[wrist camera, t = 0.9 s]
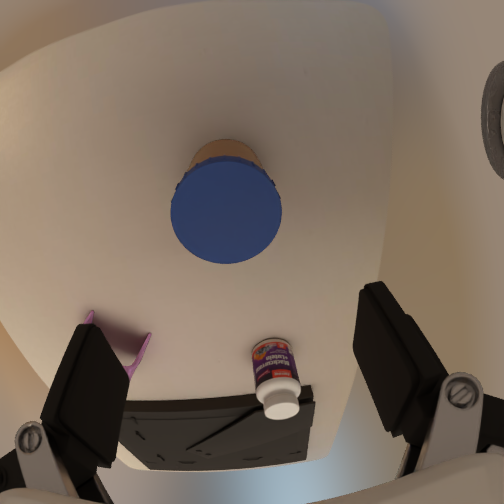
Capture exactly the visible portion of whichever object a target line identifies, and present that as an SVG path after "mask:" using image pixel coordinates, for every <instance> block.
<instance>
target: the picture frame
mask: <svg viewBox="0 0 504 504" xmlns="http://www.w3.org/2000/svg"><path fill="white" fill-rule="evenodd" d="M297 399H298V403H299V411H298V413H297V414H296V415H294V416H292V417H290V418H287V419H281V420H275V419H270V418H268V417H266V416H265V412H264V405H263V403H261V402H260V401H259V400H258V399H257V396H256V394H250V395H242V396H232V397H222V398H210V399H195V400H173V401H126V403H125V408H124V413H123V418H122V423H121V429H120V435H119V440H118V441H119V442H120V443H121V444H122V445H123V446H124V447H125V448H126V449H127V450H128V451H130V452H131V453H132V454H133V455H134V456H135V457H136V458H137V459H138V460H139V461H141V462H142V463H143V464H144V465H145V466H146V467H148V468H149V469H150V470H171V471H207V470H229V469H242V468H253V467H262V466H270V465H277V464H284V463H291V462H297V461H302V460H306V457H307V449H308V441H309V433H310V427H311V426H312V423H313V416H314V409H315V401H314V402H313V392H312V388H311V385H309V386H303V387H301V392H300V394H299V396H298V397H297Z"/></svg>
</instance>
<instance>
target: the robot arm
mask: <svg viewBox="0 0 504 504" xmlns="http://www.w3.org/2000/svg"><path fill="white" fill-rule="evenodd" d="M501 134H502V140H503V144H504V99H503V103H502V109H501ZM353 352H354V355H355V357H356V360H357V362H358V364H359V367H360V369H361V371H362V374H363V376H364V379H365V381H366V383H367V386H368V388H369V391H370V393H371V396H372V398H373V400H374V403H375V406H376V408H377V410H378V413H379V416H380V418H381V421H382V424H383V426H384V428H385V430H386V431H387V432H389V431H391V434H392V436H393V438H394V437H397V436H399V435H402V434H403V436H404V438H405V441H406V442H407V443H408V444H407V447H406V450H405V453H404V456H403V458H402V461H401V464H400V467H399V469H398V472H397V475H396V477H395V480H393V481H390V482H387V483H384V484H381V485H378V486H375V487H372V488H368V489H364V490H361V491H358V492H354V493H351V494H347V495H343V496H339V497H335V498H331V499H327V500H322V501H318V502H313V503H307V504H504V400H503V399H500V398H497V397H493V396H490V395H487V394H484V393H483V388H482V386H481V384H480V382H479V381H478V380H477V378H476V377H474V376H473V375H471V374H468V373H465V372H457V373H453V374H451V375H449V374H448V373H447V371H446V369H445V368H444V366H443V364H442V363H441V361H440V359H439V358H438V356H437V355H436V353H435V351H434V350H433V348H432V347H431V345H430V343H429V342H428V340H427V339H426V337H425V336H424V335H423V333H422V331H421V330H420V328H419V327H418V325H417V324H416V322H415V321H414V319H413V318H412V317H411V316H410V315H408V314H405V313H404V311H403V310H402V308H401V307H400V305H399V304H398V302H397V301H396V299H395V298H394V296H393V295H392V294H391V292H390V291H389V289H388V288H387V287H386V285H385V284H384V283H383V282H382V281H379V282H374V283H369V284H365V286H364V289H361V290H360V292H359V301H358V309H357V317H356V325H355V333H354V340H353ZM129 383H130V380H129V376H128V374H127V372H126V371H125V369H124V368H123V366H122V364H121V363H120V361H119V360H118V358H117V356H116V355H115V353H114V351H113V350H112V348H111V346H110V345H109V343H108V341H107V340H106V338H105V336H104V334H103V333H102V331H101V329H100V328H99V327H96V325H95V324H93V323H89V324H79V325H78V326H77V327H76V329H75V331H74V334H73V336H72V338H71V340H70V342H69V345H68V347H67V349H66V351H65V354H64V356H63V358H62V361H61V363H60V365H59V368H58V370H57V373H56V375H55V378H54V380H53V383H52V385H51V388H50V391H49V393H48V396H47V399H46V402H45V404H44V407H43V410H42V413H41V416H40V419H41V420H42V424H40V423H38V422H36V421H30V422H27V423H25V424H24V425H22V426H21V427H20V428H19V430H18V432H17V434H16V437H15V447H16V448H15V449H13V450H12V451H11V452H9V453H8V454H6V455H5V456H3V457H2V458H1V459H0V504H114V503H113V501H112V500H111V498H110V496H109V495H108V493H107V491H106V490H105V488H104V486H103V484H102V482H101V480H100V478H99V476H98V475H97V472H96V471H97V466H98V467H103V468H111V464H112V462H113V461H114V460H115V458H116V453H117V447H118V440H119V435H120V429H121V423H122V418H123V413H124V408H125V403H126V398H127V393H128V388H129Z"/></svg>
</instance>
